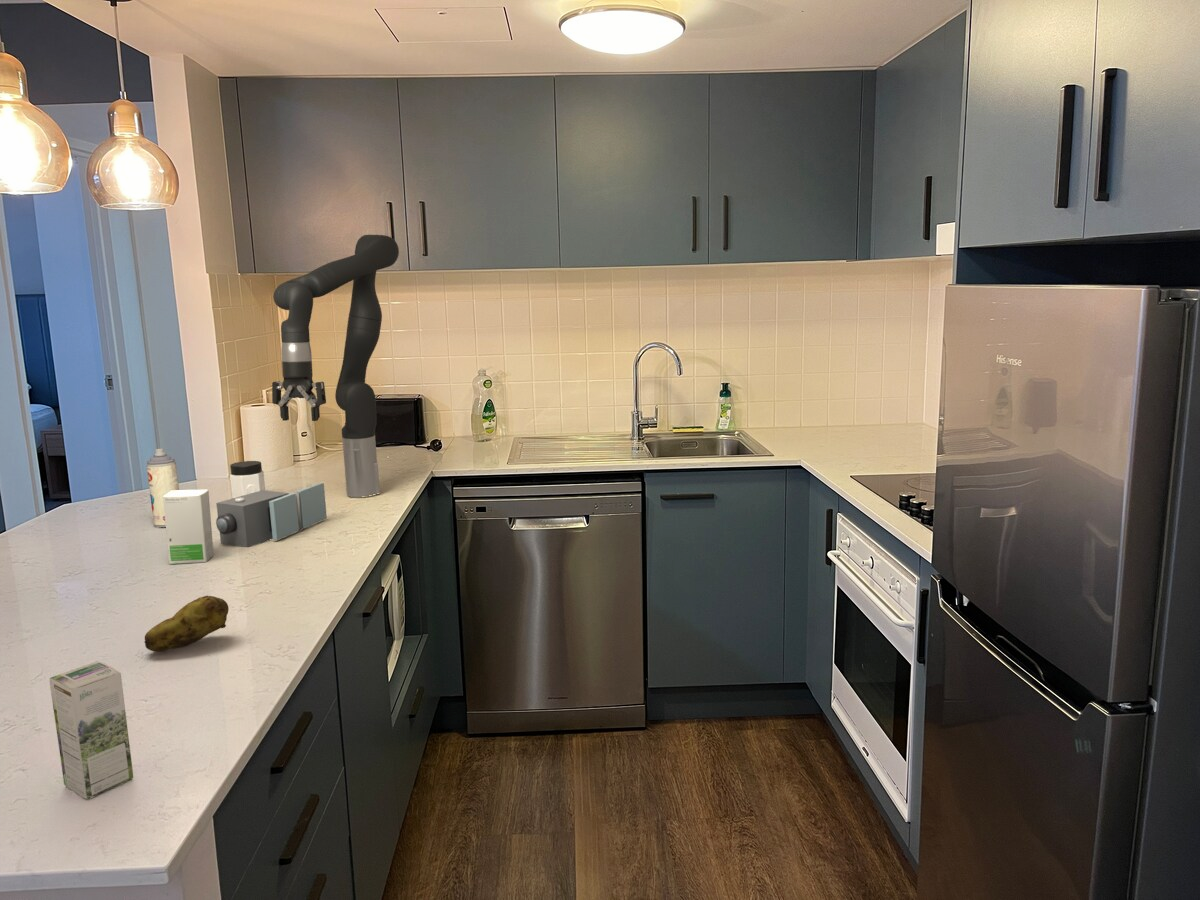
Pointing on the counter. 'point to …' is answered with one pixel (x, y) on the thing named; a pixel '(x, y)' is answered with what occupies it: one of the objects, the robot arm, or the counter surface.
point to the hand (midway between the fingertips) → (300, 420)
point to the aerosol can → (161, 483)
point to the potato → (188, 624)
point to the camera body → (246, 518)
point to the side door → (297, 510)
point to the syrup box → (91, 729)
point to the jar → (246, 478)
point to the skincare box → (188, 526)
